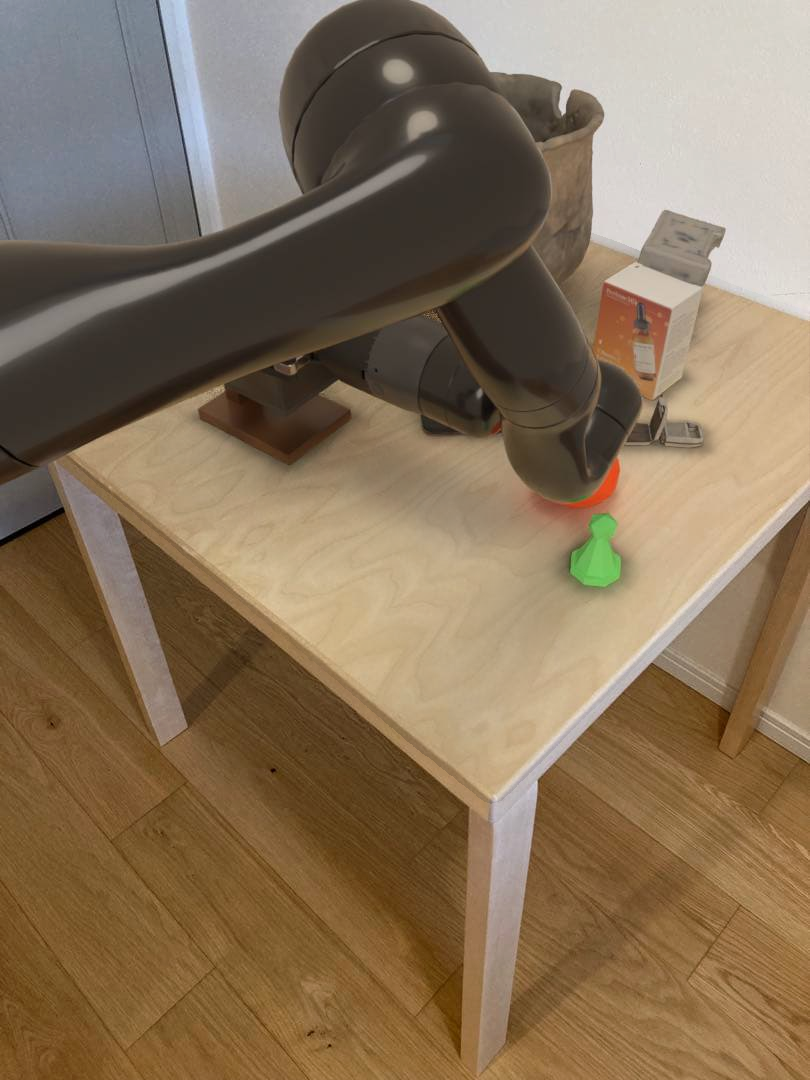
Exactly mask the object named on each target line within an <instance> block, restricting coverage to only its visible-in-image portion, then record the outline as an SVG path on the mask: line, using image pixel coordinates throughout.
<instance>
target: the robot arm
mask: <svg viewBox="0 0 810 1080" xmlns="http://www.w3.org/2000/svg"><path fill="white" fill-rule="evenodd" d="M485 63H486V62H484V60H483V58H482V57H481V56H480V53H478V51H477V49H475V46H474V45H473V43H471V42H470V41H469V39H468V38H467V37H466V36H465V35H464V34H463V33H462V32H461V31H460V30H459V29H457V27H456V26H455V25H454V24H453V23H452V22H451V21H450V20H448V18H446V17H445V16H444V15H442V14H440V13H439V12H437V11H436V10H434V9H432V8H431V7H429V6H427V4H423V3H421V2H418V1H415V0H354V1H351V2H350V3H346V4H344V5H342V6H340V7H338V8H336V9H334V10H333V11H332V12H330V13H328V14H327V15H325V16H324V17H322V18H321V19H320V20H319V21H317V22H316V23H314V25H313V26H312V28H310V30H309V31H307V32H306V34H305V35H304V37H303V38H302V40H301V41H300V42H299V43H298V44H297V46H296V47H295V48H294V51H293V53H292V55H291V57H290V59H289V61H288V63H287V65H286V67H285V71H284V75H283V78H282V82H281V86H280V90H279V104H278V119H279V127H280V134H281V140H282V143H283V144H282V145H283V148H284V151H285V155H286V158H287V161H288V163H289V167H290V169H291V173H292V175H293V177H294V179H295V182H296V184H297V186H298V188H299V190H300V192H301V194H302V195H299V196H298V197H296V198H294V199H291V200H290V201H287V202H285V203H283V204H281V205H279V206H277V207H275V208H273V209H270V210H267V211H265V212H263V213H259V214H257V215H256V216H253V217H251V218H249V219H246V220H243V221H240V222H239V223H236V224H233V225H230V226H228V227H226V228H223V229H221V230H218V231H215V232H211V233H208V234H205V235H202V236H198V237H194V238H190V239H186V240H179V241H174V242H168V243H157V244H148V245H145V244H144V245H143V244H141V245H140V244H108V243H107V244H106V243H92V242H78V241H64V240H63V241H61V240H48V239H47V240H46V239H42V240H40V239H5V240H0V486H2V485H4V484H7V483H9V482H12V481H14V480H15V479H19V478H20V477H22V476H24V475H27V474H28V473H32V472H33V471H36V470H38V469H39V468H42V467H45V466H47V465H49V464H51V463H53V462H56V461H57V460H59V459H61V458H62V457H64V456H66V455H68V454H70V453H72V452H74V451H75V450H78V449H80V448H82V447H84V446H86V445H88V444H90V443H92V442H94V441H96V440H98V439H100V438H102V437H104V436H106V435H108V434H111V433H113V432H115V431H118V430H119V429H122V428H125V427H127V426H129V425H131V424H134V423H136V422H138V421H140V420H143V419H145V418H147V417H150V416H152V415H154V414H157V413H158V412H159V413H160V412H161V411H164V410H166V409H168V408H170V407H172V406H175V405H177V404H179V403H182V402H185V401H187V400H189V399H192V398H194V397H197V396H199V395H201V394H205V393H206V392H209V391H211V390H213V389H216V388H218V387H221V386H224V384H226V383H228V382H231V381H233V380H235V379H238V378H240V377H243V376H245V375H248V374H250V373H253V372H256V371H261V372H263V373H266V374H268V375H270V376H273V377H275V378H278V379H280V380H283V381H285V382H288V383H292V382H296V381H297V380H298V379H299V377H298V370H299V369H300V368H301V367H303V366H304V365H305V364H307V363H310V364H319V365H324V366H326V367H327V368H328V369H329V370H330V371H331V372H332V373H333V374H334V375H335V377H336V378H337V379H338V381H340V382H341V383H343V384H345V385H348V386H350V387H352V388H354V389H357V390H359V391H361V392H363V393H365V394H368V395H370V396H371V397H374V398H376V399H379V400H381V401H383V402H385V403H387V404H390V405H392V406H393V407H396V408H399V409H401V410H404V411H406V412H410V413H414V414H417V415H420V416H421V415H424V416H426V417H428V418H431V419H433V420H435V421H437V422H439V423H442V424H444V425H446V426H448V427H451V428H453V429H455V430H457V431H460V432H459V433H462V434H464V435H467V436H468V437H472V438H476V439H488V438H491V437H494V436H495V435H496V434H498V433H499V432H501V433H502V440H503V445H504V450H505V453H506V456H507V459H508V461H509V464H510V466H511V467H512V469H513V471H514V473H515V474H516V475H517V477H518V478H519V480H520V481H521V482H522V483H523V484H524V485H525V486H526V487H527V488H529V490H530V491H532V492H533V493H534V494H536V495H537V496H539V497H541V498H543V499H546V500H547V501H550V502H552V501H553V502H552V503H554V502H557V503H556V504H558V503H563V504H570V503H577V502H580V501H583V500H585V499H587V498H589V497H591V496H592V495H593V494H594V493H595V492H596V491H597V490H598V489H599V488H600V486H601V485H602V484H603V482H604V480H605V478H606V477H607V475H608V473H609V471H610V469H611V467H612V466H613V464H614V462H615V460H616V458H618V456H619V455H620V453H621V451H622V450H623V448H624V446H625V445H624V444H625V442H626V440H627V438H628V437H629V435H630V433H631V432H632V430H633V428H634V426H635V424H636V423H638V421H639V420H640V419H639V418H640V416H641V414H642V411H643V407H644V400H643V399H644V398H643V395H642V394H641V391H640V389H639V387H638V385H637V384H636V382H635V381H634V380H633V378H632V377H631V376H630V375H629V374H628V373H626V372H625V371H624V370H622V369H621V368H619V367H617V366H616V365H613V364H611V363H609V362H606V361H603V360H600V359H597V358H596V356H595V354H594V352H593V346H591V344H590V341H589V339H588V337H587V335H586V333H585V330H584V328H583V327H582V324H581V322H580V320H579V319H578V317H577V314H576V312H575V311H574V310H573V308H572V306H571V304H570V303H569V301H568V299H567V297H566V296H565V294H564V293H563V291H562V289H561V288H560V285H559V286H558V285H557V283H556V282H555V280H554V279H553V277H552V275H551V274H550V272H549V271H548V269H547V268H546V266H545V264H544V263H543V261H542V260H541V258H540V257H539V255H538V253H537V252H536V250H535V249H534V247H533V245H532V244H531V243H532V242H533V241H534V239H535V238H536V236H537V235H538V233H539V232H540V230H541V229H542V227H543V225H544V222H545V220H546V217H547V215H548V212H549V210H550V204H551V199H552V184H551V176H550V173H549V169H548V166H547V164H546V162H545V159H544V157H543V155H542V153H541V151H540V149H539V147H538V146H537V144H536V143H535V141H534V139H533V137H532V135H531V133H530V132H529V130H528V128H527V127H526V125H525V124H524V122H523V120H522V119H521V117H520V115H519V114H518V112H517V111H516V110H515V109H514V108H513V106H512V105H511V103H510V102H509V100H508V99H507V97H506V96H505V94H504V93H503V91H502V90H501V88H500V87H499V85H498V83H497V82H496V80H495V79H494V77H493V76H492V74H491V73H490V72H491V71H490V70H489V68H488V67H487V65H486V64H485ZM432 311H435V313H436V316H437V317H438V319H439V321H438V320H436V319H435V318H431V317H429V316H427V315H424V314H426V313H429V312H432ZM501 429H502V430H501Z"/></svg>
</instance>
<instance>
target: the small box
mask: <svg viewBox="0 0 810 1080" xmlns="http://www.w3.org/2000/svg"><path fill="white" fill-rule="evenodd" d="M703 292H704V287H703V286H702V287H700V286H697V285H693V284H690V283H687V282H685V281H682V280H679V279H677V278H674V277H671V276H669V275H666V274H664V273H661V272H658V271H656V270H653V269H651V268H648V267H646V266H644V265H642V264H640V263H638V261H634V262H632V263H631V264H629V265H626V266H625V267H624V268H622V269H621V270H619V271H617V272H616V273H614V274H613V275H612V276H609V277H608V278H607V279H605V280H604V281H603V283H602V289H601V296H600V301H599V307H598V314H597V320H596V326H595V333H594V340H593V344H592V350H593V352H594V354H595V356H596V358H597V359H600V360H603V361H606V362H609V363H611V364H613V365H616V366H617V367H619V368H621V369H622V370H624V371H625V372H626V373H628V374H629V375H630V376H631V377H632V378H633V380H634V381H635V382H636V384H637V385H638V387H639V389H640V391H641V394H642V397H644V398H646V399H647V400H650V401H653V400H655V399H656V398H658V397H659V396H661V395H662V393H664V392H665V391H666V390H668V389H669V388H670V387H671V386H673V385H674V384H676V383H677V382H678V381H679V380H681V379H682V378H683V375H684V371H685V366H686V362H687V359H688V354H689V350H690V347H691V346H690V345H691V342H692V339H693V333H694V329H695V326H696V325H695V324H696V321H697V317H698V313H699V308H700V305H701V301H702V300H701V299H702V296H703Z"/></svg>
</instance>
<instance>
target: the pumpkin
mask: <svg viewBox="0 0 810 1080" xmlns="http://www.w3.org/2000/svg"><path fill="white" fill-rule="evenodd" d="M620 473H621V466H620V460H619V458H618V457H617V458H616V460H615V462H614V464H613V466H612V467H611V469H610V471H609V473H608V475H607V477H606V478H605V480H604V482H603V484H602V485H601V486H600V488H599V489H598V490H597V491H596V492H595V493H594V494H593V495H592V496H591V497H589V498H587V499H585V500H583V501H580V502H577V503H570V504H563V503H557V502H553V501H551V502H552V503H555V504H558V505H562V506H564V507H565V506H566V507H569V508H575V509H577V508H589V507H592V506H595V505H598V504H601V503H603V502H605V501H606V500H607V499H609V498H610V497H611V496H612V495H613V493H614V492H615V491H616V489H617V486H618V481H619V477H620Z"/></svg>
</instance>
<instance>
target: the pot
mask: <svg viewBox="0 0 810 1080" xmlns="http://www.w3.org/2000/svg"><path fill="white" fill-rule="evenodd" d="M490 73H491V74H492V76H493V77H494V79H495V80H496V82H497V83H498V85H499V87H500V88H501V90H502V91H503V93H504V94H505V96H506V97H507V99H508V100H509V102H510V103H511V105H512V106H513V108H514V109H515V110H516V111H517V112H518V114H519V115H520V117H521V119H522V120H523V122H524V124H525V125H526V127H527V128H528V130H529V132H530V133H531V135H532V137H533V139H534V141H535V143H536V144H537V146H538V147H539V149H540V151H541V153H542V155H543V157H544V159H545V162H546V164H547V166H548V169H549V173H550V176H551V184H552V199H551V204H550V210H549V212H548V215H547V217H546V220H545V222H544V225H543V227H542V229H541V230H540V232H539V233H538V235H537V236H536V238H535V239H534V241H533V242H532V243H531V244H532V245H533V247H534V249H535V250H536V252H537V253H538V255H539V257H540V258H541V260H542V261H543V263H544V264H545V266H546V268H547V269H548V271H549V272H550V274H551V275H552V277H553V279H554V280H555V282H556V283H557V285H558V286H559V287H560V286H561V285H562V284H563V283H564V282H565V281H566V280H567V279H569V278H570V277H571V276H572V275H573V274H574V273H575V272H576V271H577V269H578V268H579V267H580V266H581V264H582V262H583V261H584V258H585V255H586V253H587V250H588V249H589V246H590V244H591V243H590V242H591V236H592V229H593V217H594V203H593V154H594V150H593V143H594V135H595V133H596V132H597V130H598V129H599V128H600V127H601V126H602V124H603V122H604V120H605V110H604V109H603V106H602V104H601V103H600V102H599V100H598V99H597V97H595V96H594V95H593V94H591V93H589V92H587V91H584V90H581V89H578V88H575V89H571V91H570V92H569V96H568V98H567V99H566V103H565V112H564V113H562V110H561V109H560V100H561V91H562V89H563V87H562V84H561V83H560V82H558V81H555V80H550V79H548V78H545V77H542V76H537V75H533V74H527V73H511V74H508V73H506V72H501V71H500V72H499V71H490Z"/></svg>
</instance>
